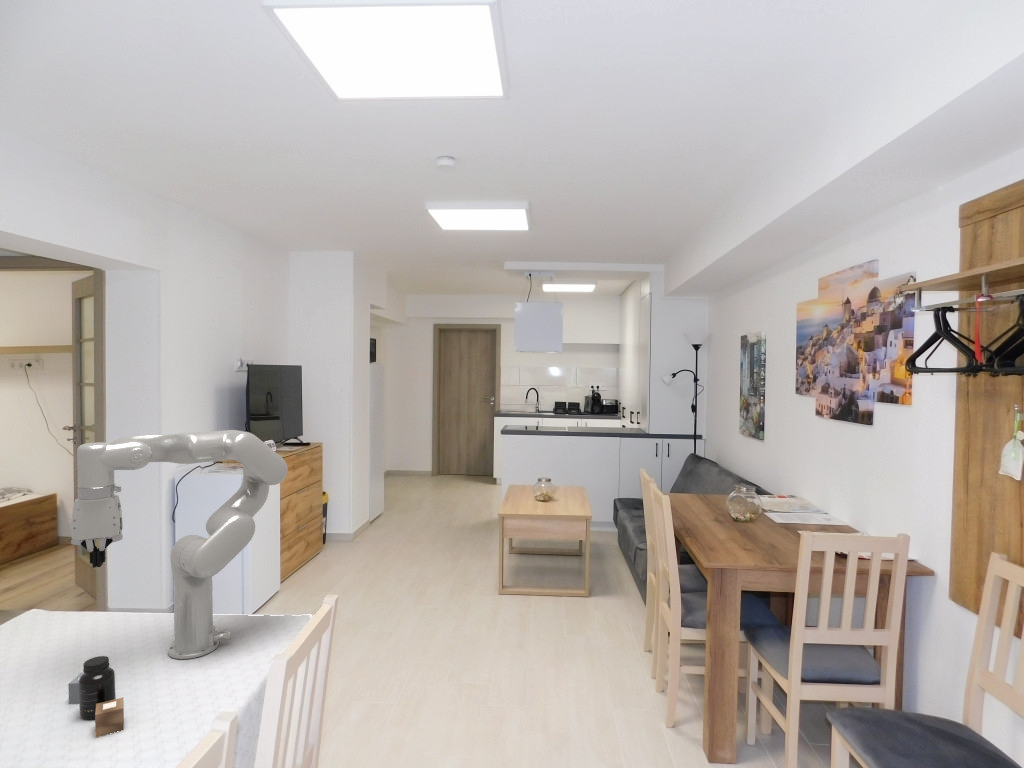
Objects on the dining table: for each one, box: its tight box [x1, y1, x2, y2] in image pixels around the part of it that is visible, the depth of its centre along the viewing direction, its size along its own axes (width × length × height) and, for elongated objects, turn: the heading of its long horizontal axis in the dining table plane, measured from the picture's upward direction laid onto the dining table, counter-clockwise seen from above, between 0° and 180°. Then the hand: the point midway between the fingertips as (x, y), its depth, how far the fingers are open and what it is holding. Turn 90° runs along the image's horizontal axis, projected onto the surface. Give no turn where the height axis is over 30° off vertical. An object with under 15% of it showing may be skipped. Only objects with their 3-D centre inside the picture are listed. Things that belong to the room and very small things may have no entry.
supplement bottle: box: [78, 655, 117, 721], centre depth 138 cm, size 7×7×12 cm
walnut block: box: [94, 697, 125, 738], centre depth 132 cm, size 5×5×5 cm
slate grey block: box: [67, 672, 84, 705], centre depth 144 cm, size 5×5×5 cm
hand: (97, 565), depth 150 cm, fingers closed
